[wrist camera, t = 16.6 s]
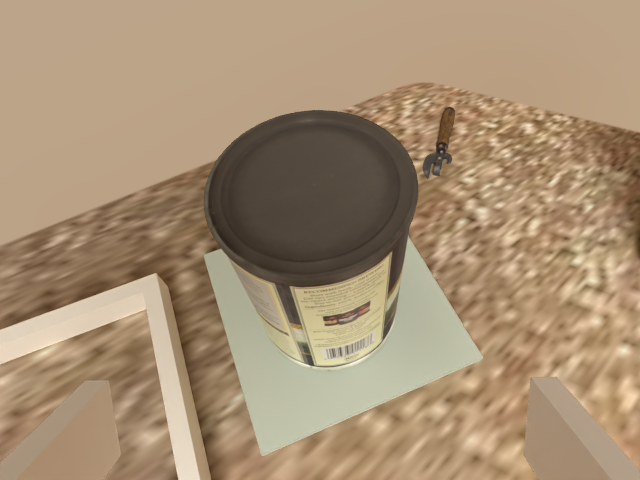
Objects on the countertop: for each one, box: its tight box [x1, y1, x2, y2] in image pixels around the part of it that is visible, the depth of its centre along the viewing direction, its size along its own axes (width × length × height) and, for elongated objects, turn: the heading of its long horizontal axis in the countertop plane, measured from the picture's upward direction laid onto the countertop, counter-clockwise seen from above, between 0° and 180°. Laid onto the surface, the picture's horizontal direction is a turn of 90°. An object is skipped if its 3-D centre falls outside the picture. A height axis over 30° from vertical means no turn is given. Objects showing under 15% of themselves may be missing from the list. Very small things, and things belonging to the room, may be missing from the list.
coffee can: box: [204, 110, 418, 371], centre depth 27 cm, size 10×10×14 cm
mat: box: [203, 236, 483, 456], centre depth 33 cm, size 16×16×1 cm
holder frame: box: [0, 273, 212, 480], centre depth 28 cm, size 17×17×2 cm
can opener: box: [423, 107, 455, 178], centre depth 41 cm, size 9×2×1 cm, turn 157°
